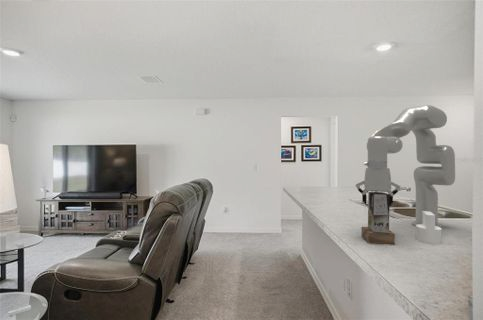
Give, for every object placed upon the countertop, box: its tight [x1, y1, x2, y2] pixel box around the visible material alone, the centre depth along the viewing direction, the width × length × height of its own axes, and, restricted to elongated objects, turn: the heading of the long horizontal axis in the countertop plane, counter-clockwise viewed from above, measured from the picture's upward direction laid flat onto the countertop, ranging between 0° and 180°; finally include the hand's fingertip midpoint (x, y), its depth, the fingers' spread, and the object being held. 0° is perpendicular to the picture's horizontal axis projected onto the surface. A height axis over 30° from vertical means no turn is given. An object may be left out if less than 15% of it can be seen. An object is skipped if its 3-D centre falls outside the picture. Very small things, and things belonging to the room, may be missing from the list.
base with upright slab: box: [415, 211, 443, 245], centre depth 111 cm, size 9×9×12 cm
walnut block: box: [361, 226, 396, 246], centre depth 111 cm, size 10×10×5 cm
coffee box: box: [367, 191, 391, 233], centre depth 111 cm, size 9×6×16 cm
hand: (377, 204), depth 111 cm, fingers open, 9 cm apart
